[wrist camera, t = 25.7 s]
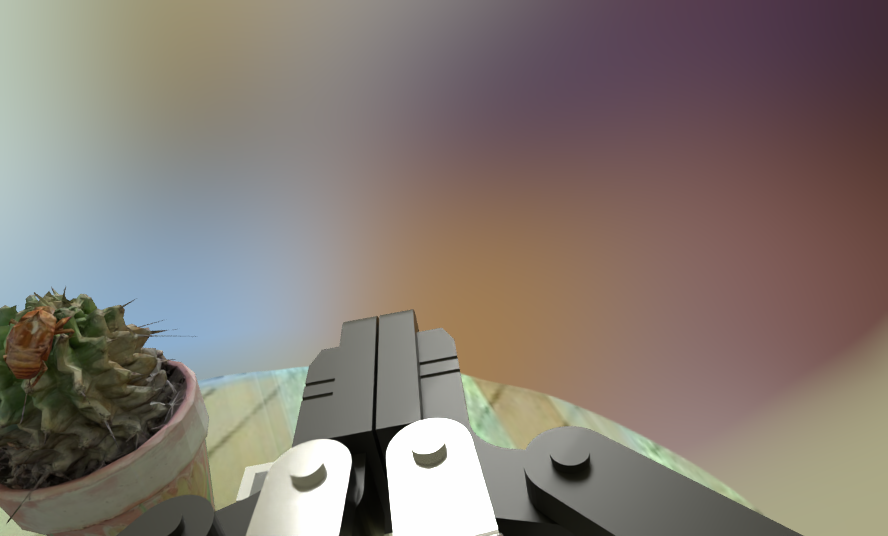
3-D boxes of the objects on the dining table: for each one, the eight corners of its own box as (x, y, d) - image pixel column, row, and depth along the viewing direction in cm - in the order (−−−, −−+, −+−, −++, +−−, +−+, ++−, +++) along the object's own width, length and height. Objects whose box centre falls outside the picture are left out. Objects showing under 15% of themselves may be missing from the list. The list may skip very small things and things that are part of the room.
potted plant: (166, 435, 64) (63, 224, 53) (301, 483, 54) (208, 237, 43) (-8, 577, 50) (-196, 334, 39) (129, 675, 40) (-70, 389, 30)
